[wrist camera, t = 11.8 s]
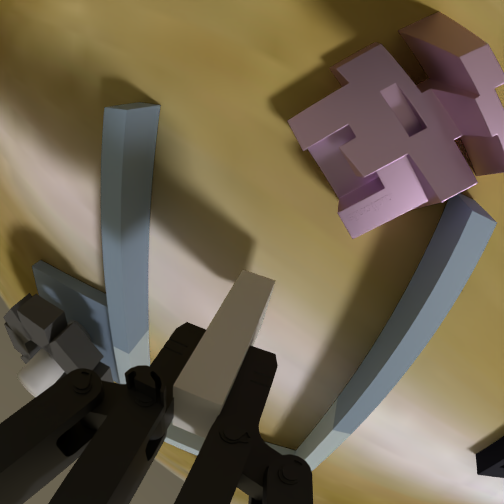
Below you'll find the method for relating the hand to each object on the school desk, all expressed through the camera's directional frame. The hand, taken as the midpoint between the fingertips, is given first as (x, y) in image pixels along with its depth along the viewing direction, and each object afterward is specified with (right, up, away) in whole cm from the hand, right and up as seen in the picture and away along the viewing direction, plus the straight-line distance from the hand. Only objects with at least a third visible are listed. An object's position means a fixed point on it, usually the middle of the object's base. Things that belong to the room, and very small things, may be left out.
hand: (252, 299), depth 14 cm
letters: (+6, +7, -3) cm, 10 cm away
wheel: (-14, -5, +5) cm, 16 cm away
